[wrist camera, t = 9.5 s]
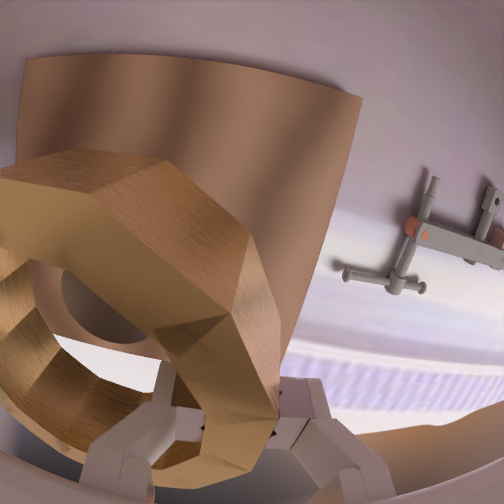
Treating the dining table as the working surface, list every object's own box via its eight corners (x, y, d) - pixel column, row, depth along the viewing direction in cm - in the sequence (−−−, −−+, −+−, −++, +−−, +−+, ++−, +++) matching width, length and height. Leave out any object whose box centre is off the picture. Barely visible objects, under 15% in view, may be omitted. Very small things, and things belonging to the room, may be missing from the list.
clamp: (530, 208, 17) (484, 311, 22) (514, 200, 19) (472, 298, 24) (397, 139, 15) (344, 291, 20) (381, 135, 17) (335, 274, 22)
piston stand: (353, 98, 16) (435, 96, 8) (274, 362, 24) (287, 452, 16) (39, 61, 13) (-52, 53, 6) (42, 317, 22) (-5, 387, 14)
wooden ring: (318, 191, 8) (349, 251, 5) (239, 435, 13) (229, 507, 9) (-2, 141, 8) (-82, 165, 4) (32, 365, 13) (-5, 414, 9)
